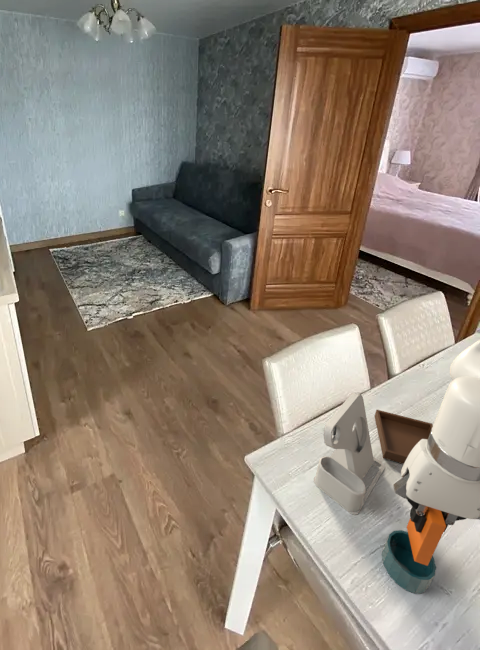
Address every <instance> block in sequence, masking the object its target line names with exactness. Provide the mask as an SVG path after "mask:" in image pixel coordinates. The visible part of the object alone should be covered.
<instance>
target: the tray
mask: <svg viewBox="0 0 480 650" xmlns="http://www.w3.org/2000/svg"><path fill="white" fill-rule="evenodd" d="M374 420H375V426H376V430H377V434H378V440H379V445H380V449H381V450H380V451H381V454H382V458H383V459H385V460H389V461H391V462H394V463H395V462H396V463H399V464H402V465H404V463H405V461H406V459H407V457H408V455H409V454H410V452H411V450H412V449H413V448H414V446H415V445H416V444H417V443H418V442H419V441H420V440H421V439H428V437H429V434H430V432H431V429H432V427H433V424H434V423H431V422H428V421H423V420H420V419H416V418H411V417H408V416H405V415H404V416H403V415H401V414H400V415H399V414H397V413H392V412H389V411H384V410H380V409H376V410H375V413H374Z"/></svg>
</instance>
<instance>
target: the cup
mask: <svg viewBox="0 0 480 650" xmlns="http://www.w3.org/2000/svg"><path fill="white" fill-rule="evenodd" d="M381 558H382V559H381V560H382V564H383V566H384V568H385V571H386V572H387V575H388V576H389V577H390V578H391V579H392V580H393V581H394V583H395V584H396V585H398V586H399V587H400V588H401V589H403V590H405V591H406V592H408V593H412V594H417V595H418V594H424V593H425V592H426V591H427V590H429V588H430V586H431V583H432V581H433V580H434V578H435V576H436V572H437V564H436V561H435V557H434V556H432V558H431V560H430V562H429V564H428V566H426V565H424V564H421V563H418V562H415V561H414V557H413V553H412V548H411V544H410V540H409V535H408V531H405V530H402V529H399V530H398V529H397V530H393V531H392V532H391V533H389V534H388V536H387V539H386V541H385V544H384V547H383V549H382V553H381Z"/></svg>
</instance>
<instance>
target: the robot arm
mask: <svg viewBox="0 0 480 650" xmlns="http://www.w3.org/2000/svg"><path fill="white" fill-rule="evenodd" d="M449 376H450V378H451V382H449V384H448V386H447V388H446V391H445V394H444V396H443V398H442V401H441V404H440V406H439V409H438V411H437V413H436V416H435V419H434V421H433V423H432V424H433V427H432V429H431V432H430V434H429V437H428V439H421V440H420V441H419V442H418V443H417V444H416V445H415V446H414V448H413V449H412V450H411V452H410V454H409V455H408V457H407V459H406V461H405V463H404V464H402V467H401V470H400V476H401V478H400V479H398V481H396V482H395V483H393V491H394V493H395V494H396V495H397V496H399V497H401V498H403V499H406V500H407V503H409V505H410V506H411V508H410V511H409V519H410V518H411V521H412V522H414V525H415V529H416V531H417V532H421V531H422V529H423V527H424V524H425V522H426V520H427V518H426V514H425V513H426V511H427V508H428V507H431V508H434V509H437V510H440V511H441V512H442V515H443V518H444V521H445V524H446V528H445V530H444V532H443V533H446V530H447V528H448V527H449V526H454V525H455V523H456V522H458V521H464V520H467V519H469V520H480V338H479V339H478V340H477V341H475V342H473V343H472V344H470V345H468V346H467V347H465V348H464V349H463V350H462V351H461V352H460V353H458V354H457V356H456V357H455V358H454V359H453V360H452V362H451V363H450V367H449Z"/></svg>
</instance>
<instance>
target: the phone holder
mask: <svg viewBox="0 0 480 650" xmlns="http://www.w3.org/2000/svg"><path fill="white" fill-rule="evenodd" d="M366 413H367V412H366V407H365V402H364V397H363V395H362V394H360V393H355V392H352V393H351V394H350V395H348V397H347V398H346V400H345V401H344V402H343V403H342V404H341V405H340V407H339V408H338V409H337V410H336V412H335V413H334V414H333V415H331V417H330V418H329V420H328V421H327V422H326V423H325V426H324V429H323V440H324V445H325V446H326V447H329V448H332V449H334V451H333V452H332V453H331V454H330V456H327V455H326V456H322V457H320V458H319V460H318V464H317V468H316V471H315V476H314V477H313V484H314V485H315V486H316V487H317V488H318V489H320V490H321V491H322V492H323V493H324V494H326V495H327V496H328V497H329V498H330V499H331V500H332V501H334V502H335V503H337V504H338V505H339V506H340V507H341V508H343V509H344V510H345V511H347V512H348V513H349V514H350V515H353V516H356V515H357V516H358V515H359V514H360V511H361V510H362V509H363V507H364V505H365V503H366V501H367V499H368V498H369V497H370V495H371V493H372V492H373V489H374V488H375V485H376V484H377V482H378V481H379V480H380V477H381V476H382V473H383V471H384V470H385V465H384V464H383V462H382V461H380V460H379V459H378V458H376V457H374V454H373V448H372V447H373V446H372V442H371V436H370V431H369V425H368V418H367V414H366ZM372 466H374V467H377V468H379V469H378V470H377V472H376V474H375V476H374V478H373V479H372V481H371V483H370V484H369V486H368V487H367V486H366V484H365V482H364V479H365V477H366V476H367V474H368V473H369V471H370V469H371V468H372Z"/></svg>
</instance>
